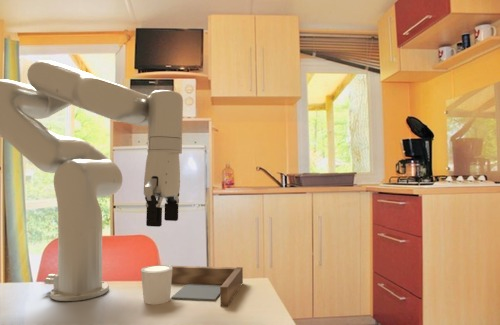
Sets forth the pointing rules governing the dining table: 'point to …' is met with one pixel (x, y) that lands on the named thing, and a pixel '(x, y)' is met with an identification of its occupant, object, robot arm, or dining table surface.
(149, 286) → the white cup
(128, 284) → the dining table surface
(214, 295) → the pad
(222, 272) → the wooden corner fence
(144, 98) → the robot arm
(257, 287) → the dining table surface
